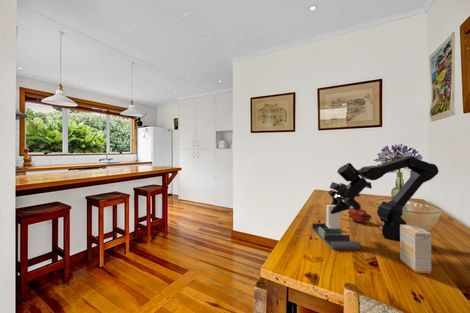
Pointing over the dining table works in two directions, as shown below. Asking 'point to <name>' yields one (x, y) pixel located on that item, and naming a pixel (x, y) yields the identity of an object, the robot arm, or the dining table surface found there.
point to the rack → (334, 237)
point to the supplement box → (415, 248)
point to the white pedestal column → (333, 218)
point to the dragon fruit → (359, 215)
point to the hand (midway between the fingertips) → (330, 212)
